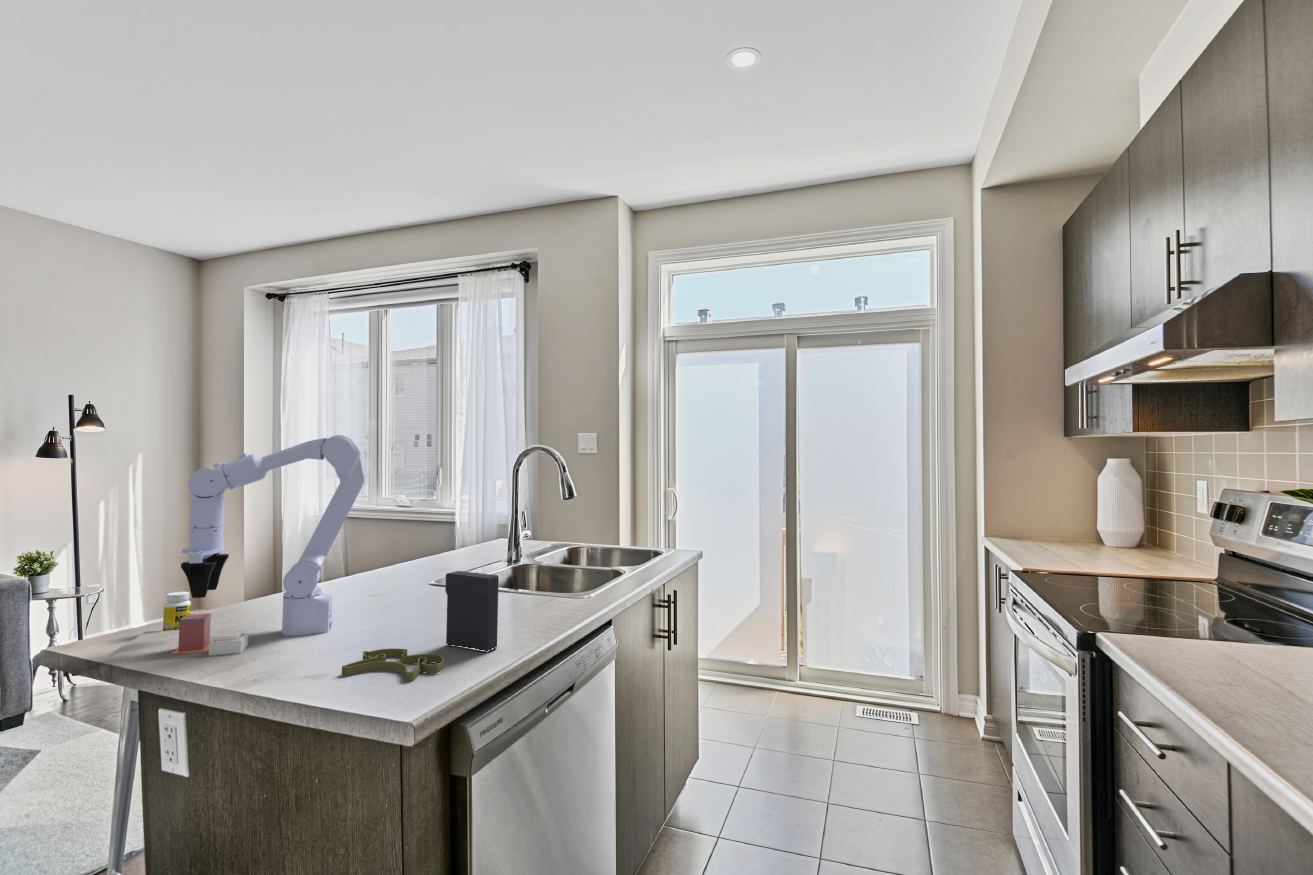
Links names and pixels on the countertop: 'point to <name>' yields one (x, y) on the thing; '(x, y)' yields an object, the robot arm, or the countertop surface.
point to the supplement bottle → (175, 610)
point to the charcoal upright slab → (472, 610)
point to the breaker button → (229, 635)
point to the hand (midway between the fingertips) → (204, 593)
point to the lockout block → (194, 632)
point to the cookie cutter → (394, 663)
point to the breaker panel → (215, 649)
